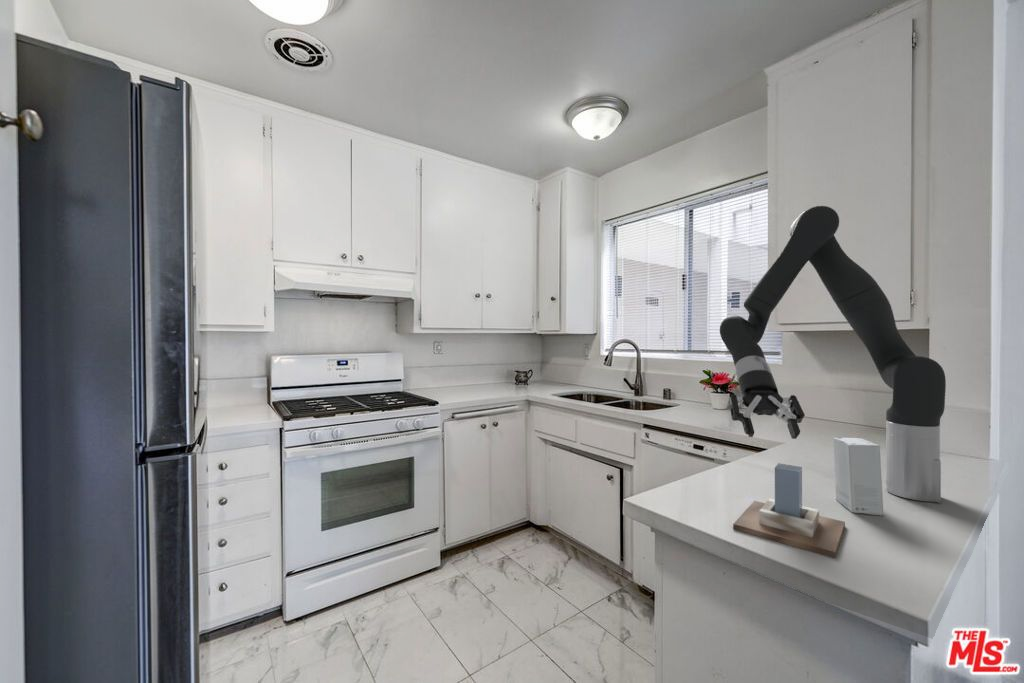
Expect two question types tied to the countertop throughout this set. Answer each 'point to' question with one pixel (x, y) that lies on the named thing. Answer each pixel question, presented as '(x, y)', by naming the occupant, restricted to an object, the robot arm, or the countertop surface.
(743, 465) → the countertop surface
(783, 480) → the plug
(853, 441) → the skincare box
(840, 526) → the socket board
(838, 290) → the robot arm
